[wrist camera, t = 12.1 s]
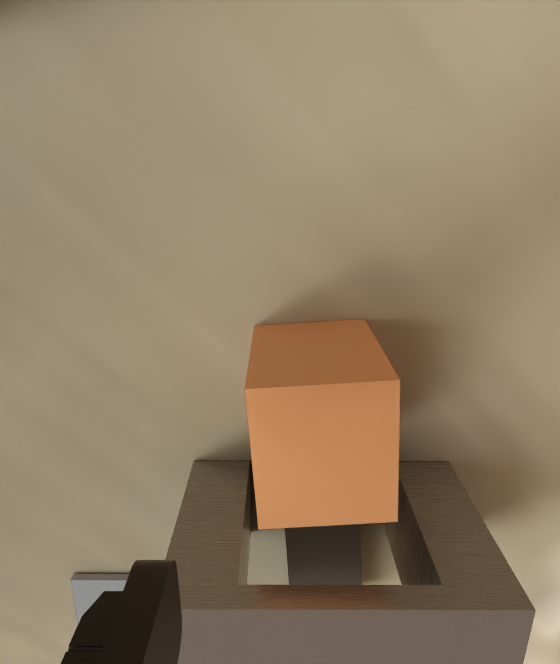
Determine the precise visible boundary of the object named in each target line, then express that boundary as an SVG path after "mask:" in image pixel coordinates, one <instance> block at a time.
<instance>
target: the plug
mask: <svg viewBox="0 0 560 664" xmlns="http://www.w3.org/2000/svg"><path fill="white" fill-rule="evenodd" d="M245 396H246V406H247V417H248V427H249V437H250V448H251V458H252V469H253V479H254V490H255V500H256V510H257V521H258V529H276V528H285V535H286V548H287V562H288V575H289V585H361V561H360V524H367V523H385V522H398V480H399V426H400V378H399V377H398V375H397V373H396V372H395V370H394V368H393V367H392V365H391V363H390V361H389V360H388V358H387V356H386V355H385V353H384V351H383V349H382V348H381V346H380V344H379V343H378V341H377V339H376V337H375V336H374V334H373V332H372V331H371V329H370V327H369V326H368V324H367V322H366V320H365V319H354V320H338V321H322V322H306V323H290V324H274V325H257V326H254V332H253V339H252V345H251V352H250V359H249V365H248V372H247V378H246V385H245Z"/></svg>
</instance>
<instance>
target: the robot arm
mask: <svg viewBox="0 0 560 664" xmlns="http://www.w3.org/2000/svg"><path fill="white" fill-rule="evenodd" d="M181 637H182V613H181V602H180V592H179V582H178V572H177V565H176V561H175V560H137V561H135V563H134V564H133V566H132V568H131V571H130V574H129V576H128V579H127V582H126V584H125V587H124V590H123V591H104V592H103V593H102V594H101V595H100V596H99V597H98V599H97V600H96V601H95V602H94V603H93V604H92V605H91V606H90V607H89V609H88V610H87V611H86V612H85V613H84V614H83V615H82V617H81V619H80V622H79V624H78V626H77V628H76V631H75V633H74V635H73V637H72V640H71V642H70V644H69V649H68V652H66V653H65V655H64V658H63V660H62V662H61V664H177V663H178V658H179V653H180V646H181Z"/></svg>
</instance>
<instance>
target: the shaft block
mask: <svg viewBox="0 0 560 664" xmlns="http://www.w3.org/2000/svg"><path fill="white" fill-rule="evenodd" d="M386 534H387V537H388V540H389V544H390V547H391V550H392V554H393V557H394V560H395V564H396V567H397V570H398V574H399V577H400V580H401V584H402V585H247V575H248V561H249V548H250V535H251V524H250V461H194V463H193V466H192V470H191V473H190V476H189V480H188V483H187V487H186V490H185V494H184V497H183V501H182V504H181V508H180V511H179V514H178V518H177V521H176V525H175V528H174V532H173V535H172V539H171V542H170V546H169V549H168V552H167V556H166V559H165V560H175V561H176V565H177V572H178V582H179V592H180V602H181V613H182V637H181V646H180V653H179V658H178V663H177V664H523V662H524V657H525V653H526V649H527V644H528V640H529V636H530V632H531V627H532V623H533V619H534V615H535V608H534V607H533V605H532V603H531V602H530V600H529V598H528V596H527V595H526V593H525V591H524V590H523V588H522V586H521V585H520V583H519V581H518V579H517V578H516V576H515V574H514V573H513V571H512V569H511V567H510V566H509V564H508V562H507V561H506V559H505V557H504V556H503V554H502V552H501V550H500V549H499V547H498V545H497V544H496V542H495V540H494V538H493V537H492V535H491V533H490V532H489V530H488V528H487V526H486V525H485V523H484V521H483V520H482V518H481V516H480V515H479V513H478V511H477V509H476V508H475V506H474V504H473V503H472V501H471V499H470V497H469V496H468V494H467V492H466V491H465V489H464V487H463V486H462V484H461V482H460V480H459V479H458V477H457V475H456V474H455V472H454V470H453V468H452V467H451V465H450V463H449V462H399V480H398V522H388V523H387V533H386Z"/></svg>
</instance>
